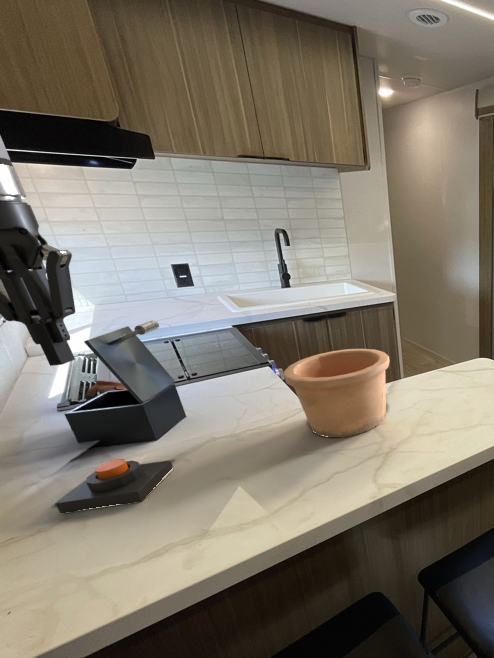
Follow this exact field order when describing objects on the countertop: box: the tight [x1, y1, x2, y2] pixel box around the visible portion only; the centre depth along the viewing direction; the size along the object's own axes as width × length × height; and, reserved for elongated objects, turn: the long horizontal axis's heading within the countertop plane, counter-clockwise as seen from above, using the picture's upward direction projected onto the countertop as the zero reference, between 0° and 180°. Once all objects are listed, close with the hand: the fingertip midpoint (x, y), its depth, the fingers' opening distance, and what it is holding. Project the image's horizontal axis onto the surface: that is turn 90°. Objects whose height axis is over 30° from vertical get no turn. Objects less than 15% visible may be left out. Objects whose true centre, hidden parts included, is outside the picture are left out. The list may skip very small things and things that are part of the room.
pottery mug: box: [85, 380, 126, 403], centre depth 109 cm, size 12×10×8 cm
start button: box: [94, 458, 129, 480], centre depth 70 cm, size 4×4×2 cm
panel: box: [54, 460, 174, 514], centre depth 71 cm, size 12×10×4 cm
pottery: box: [283, 348, 390, 438], centre depth 91 cm, size 22×22×14 cm
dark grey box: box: [64, 383, 187, 450], centre depth 92 cm, size 15×13×9 cm
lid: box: [83, 320, 176, 404], centre depth 89 cm, size 15×13×9 cm
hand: (62, 362), depth 63 cm, fingers closed
